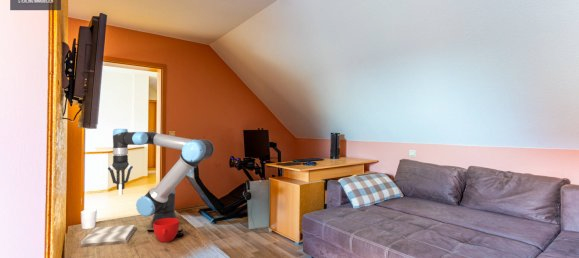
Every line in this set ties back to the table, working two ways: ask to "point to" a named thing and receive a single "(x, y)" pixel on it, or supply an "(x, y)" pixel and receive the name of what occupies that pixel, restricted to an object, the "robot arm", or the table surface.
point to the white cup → (88, 218)
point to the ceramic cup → (166, 229)
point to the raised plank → (113, 229)
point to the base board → (106, 238)
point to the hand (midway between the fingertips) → (120, 194)
